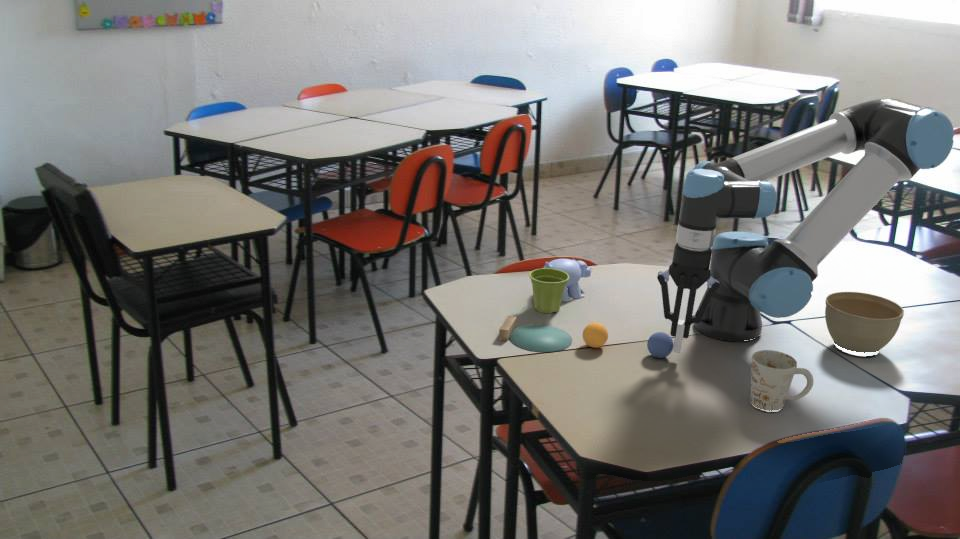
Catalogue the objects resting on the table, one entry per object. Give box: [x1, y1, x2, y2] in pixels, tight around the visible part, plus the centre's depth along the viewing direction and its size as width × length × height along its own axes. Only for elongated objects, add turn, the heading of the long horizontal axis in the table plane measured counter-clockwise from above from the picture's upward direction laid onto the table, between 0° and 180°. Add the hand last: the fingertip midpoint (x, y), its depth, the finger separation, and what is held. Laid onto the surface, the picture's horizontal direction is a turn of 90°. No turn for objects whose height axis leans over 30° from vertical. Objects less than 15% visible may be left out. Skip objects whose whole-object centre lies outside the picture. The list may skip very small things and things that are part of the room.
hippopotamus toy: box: [543, 258, 592, 303], centre depth 227 cm, size 11×15×10 cm
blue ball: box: [646, 331, 674, 359], centre depth 195 cm, size 6×6×6 cm
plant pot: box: [528, 267, 569, 314], centre depth 216 cm, size 9×9×9 cm
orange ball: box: [582, 321, 609, 349], centre depth 198 cm, size 6×6×6 cm
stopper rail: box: [498, 315, 517, 342], centre depth 203 cm, size 2×8×2 cm, turn 165°
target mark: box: [509, 324, 573, 353], centre depth 202 cm, size 14×14×1 cm
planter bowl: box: [824, 291, 905, 353], centre depth 202 cm, size 16×16×11 cm
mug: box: [750, 349, 814, 411], centre depth 176 cm, size 8×13×10 cm, turn 95°
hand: (676, 350), depth 194 cm, fingers closed
